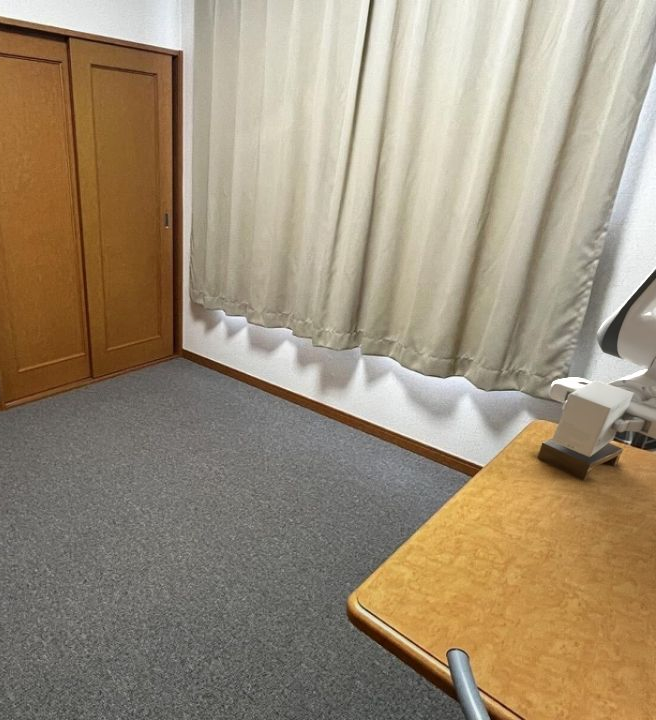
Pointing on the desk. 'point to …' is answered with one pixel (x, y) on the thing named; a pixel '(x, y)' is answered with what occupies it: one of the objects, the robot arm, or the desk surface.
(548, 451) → the dark bridge stand
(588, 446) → the cosmetics box
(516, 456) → the desk surface
